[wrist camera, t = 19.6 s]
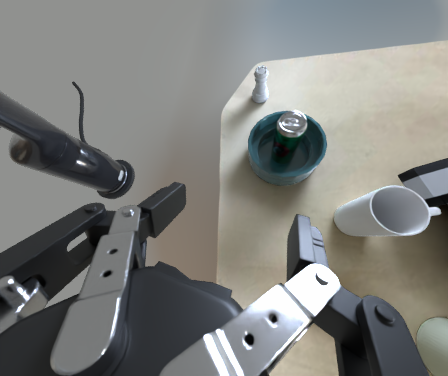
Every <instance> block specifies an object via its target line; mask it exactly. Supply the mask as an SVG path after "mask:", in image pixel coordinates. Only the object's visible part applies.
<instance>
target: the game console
mask: <svg viewBox="0 0 448 376" xmlns="http://www.w3.org/2000/svg"><path fill="white" fill-rule="evenodd" d="M398 177H399V178H400V180H401V181H402V183H403V184H404V186H405V187H406V188H408V189H410V190H412V191H414V192H416V193H417V194H418V195H419V196H421V197H422V198H423V199H424V201H425V202H426V203H427V205H428V207H434V206H439V205H444V204H447V205H448V158H446V159H443V160H439V161H436V162H432V163H429V164H426V165H422V166H419V167H415V168H412V169H410V170H408V171H406V172H404V173H402V174H399V175H398Z"/></svg>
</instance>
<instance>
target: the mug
mask: <svg viewBox="0 0 448 376" xmlns="http://www.w3.org/2000/svg"><path fill="white" fill-rule="evenodd" d="M440 214H441V211H440V209H439V208H437V207H434V208H429V207H428V205H427V203H426V202H425V201H424V199H423V198H422V197H421V196H419V195H418V194H417V193H416V192H414V191H412V190H410V189H408V188H405V187H402V186H394V185H392V186H385V187H382V188H380V189H377V190H375V191H372V192H370V193H368V194H366V195H364V196H362V197H359V198H357V199H355V200H353V201H351V202H348V203H347V204H345V205H342V206H340V207H339V208H338V209H337V210H336V212H335V214H334V221H335V224H336V226H337V227H338V229H339V230H340V231H342V232H343V233H345V234H347V235H350V236H411V235H416V234H418V233H420V232H422V231H423V230H425V229H426V227H427V226H428V224H429V222H430V216H434V215H440Z"/></svg>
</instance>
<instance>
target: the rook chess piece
mask: <svg viewBox="0 0 448 376" xmlns="http://www.w3.org/2000/svg"><path fill="white" fill-rule="evenodd" d="M267 75H268V70H267V67H265V68H264V65H262V67H260V66H258V68H256V71H255V73H254V76H255V77H256V78H255V81H256V86H255V88H254V90H253V92H252V99H253V100H254V101H255V102H257V103H263V102H265V101H266V100H267V99H268V97H269V91H268V89H267V87H266V80H267Z"/></svg>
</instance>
